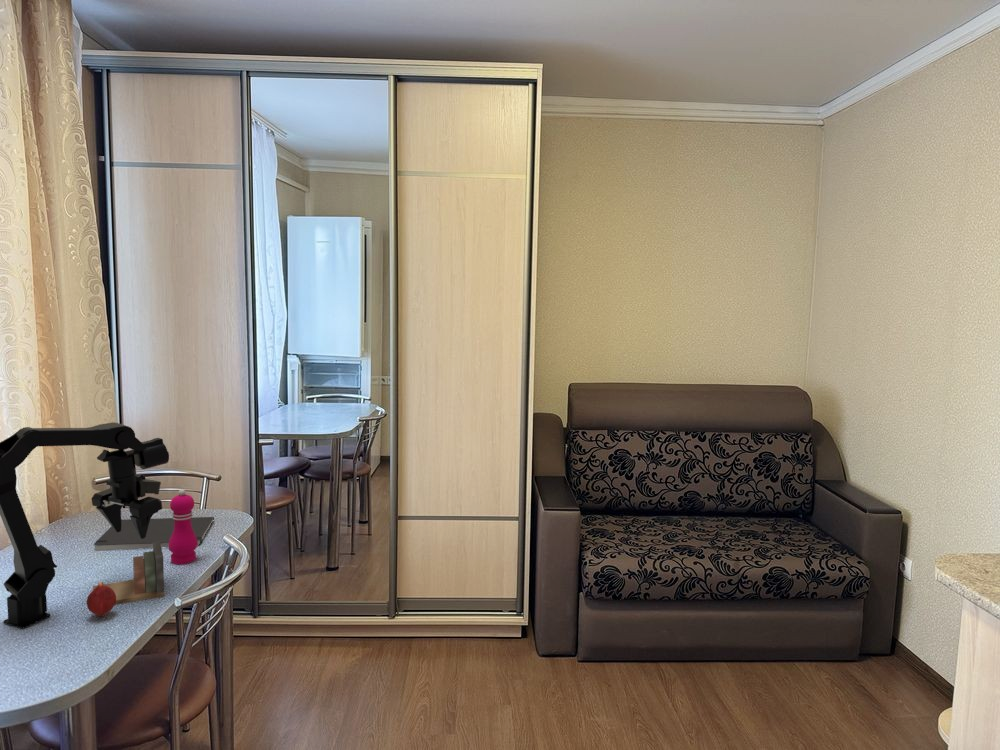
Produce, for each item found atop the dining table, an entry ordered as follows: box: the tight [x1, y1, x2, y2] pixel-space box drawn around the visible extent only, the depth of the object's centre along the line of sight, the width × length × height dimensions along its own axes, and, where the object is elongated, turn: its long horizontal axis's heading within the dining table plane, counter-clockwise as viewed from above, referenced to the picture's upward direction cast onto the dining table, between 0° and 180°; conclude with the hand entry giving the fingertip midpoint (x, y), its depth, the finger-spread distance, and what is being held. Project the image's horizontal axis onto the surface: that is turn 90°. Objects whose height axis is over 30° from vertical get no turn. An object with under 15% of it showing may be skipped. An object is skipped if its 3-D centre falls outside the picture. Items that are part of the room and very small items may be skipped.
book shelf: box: [92, 542, 165, 606], centre depth 168 cm, size 15×11×10 cm
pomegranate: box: [86, 581, 116, 617], centre depth 156 cm, size 6×6×8 cm
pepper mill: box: [168, 488, 198, 565], centre depth 188 cm, size 7×7×20 cm
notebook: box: [93, 516, 215, 551], centre depth 207 cm, size 22×2×28 cm
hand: (130, 534), depth 170 cm, fingers open, 9 cm apart
